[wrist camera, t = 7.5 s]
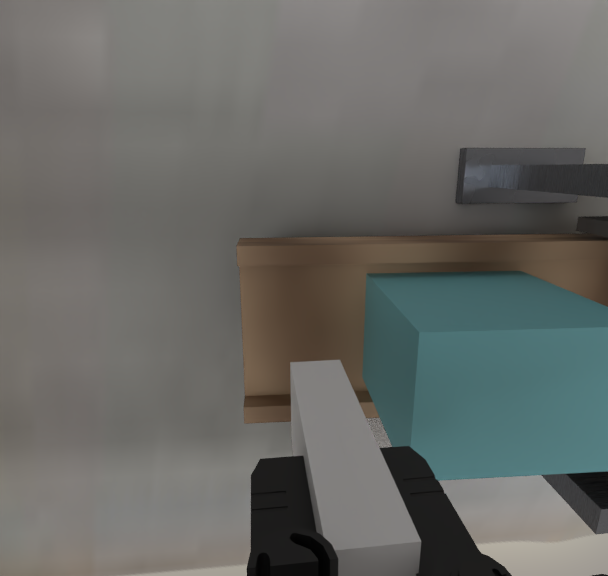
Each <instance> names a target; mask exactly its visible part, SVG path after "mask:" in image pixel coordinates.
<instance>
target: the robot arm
mask: <svg viewBox="0 0 608 576" xmlns="http://www.w3.org/2000/svg"><path fill="white" fill-rule="evenodd" d="M290 380H291V442H292V449H293V456H292V457H279V458H266V459H260V460H259V462H258V464H257V466H256V468H255V469H254V471H253V473H252V475H251V553H250V557H249V561H248V565H247V576H512V575H511V574H510V573H509V572H508V571H507V570H506V568H505V567H504V566H502V565H501V564H499V563H498V562H496V561H495V560H493V559H492V558H490V557H489V556H487V555H484V554H481V552H480V551H479V550H478V548H477V546H476V545H475V543H474V541H473V540H472V538H471V536H470V534H469V533H468V531H467V529H466V528H465V526H464V524H463V522H462V521H461V519H460V517H459V516H458V514H457V512H456V511H455V509H454V507H453V505H452V504H451V502H450V500H449V499H448V497H447V495H446V494H444V490H443V488H442V487H441V485H440V483H439V482H438V480H437V479H436V478H435V475H434V473H433V471H432V470H431V468H430V466H429V465H428V463H427V461H426V459H424V458H423V457H422V456H421V455H419V454H418V453H417V452H416V451H414V450H413V449H412V448H411V447H410V446H400V447H388V448H379V446H378V444H377V441H376V439H375V437H374V435H373V433H372V430H371V428H370V426H369V424H368V421H367V419H366V417H365V415H364V412H363V410H362V408H361V406H360V404H359V401H358V399H357V397H356V395H355V392H354V390H353V388H352V386H351V383H350V381H349V379H348V377H347V375H346V372H345V370H344V368H343V366H342V363H341V361H340V360H324V361H306V362H290ZM593 576H608V575H604V574H599V575H593Z"/></svg>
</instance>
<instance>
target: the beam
mask: <svg viewBox="0 0 608 576" xmlns="http://www.w3.org/2000/svg"><path fill="white" fill-rule="evenodd" d="M576 231H581V232H586V233H587V234H514V235H442V236H370V237H298V238H240V239H239V242H238V244H237V266H239V269H240V292H241V315H242V338H243V361H244V384H245V401H244V423H266V422H289V421H291V380H290V362H306V361H324V360H340V361H341V363H342V366H343V368H344V370H345V372H346V375H347V377H348V379H349V381H350V383H351V386H352V388H353V390H354V392H355V395H356V397H357V399H358V401H359V404H360V406H361V408H362V410H363V412H364V415H365V417H366V418H379V414H378V412H377V410H376V408H375V405H374V403H373V401H372V398H371V396H370V394H369V391H368V389H367V387H366V385H365V382H364V380H363V378H362V372H363V347H364V322H365V297H366V273H419V272H474V271H523V272H525V273H527V274H530V275H532V276H535V277H537V278H539V279H542V280H544V281H547V282H549V283H551V284H554V285H556V286H559V287H561V288H563V289H566V290H568V291H571V292H573V293H575V294H578V295H580V296H583V297H585V298H587V299H590V300H592V301H595V302H597V303H599V304H602V305H604V306H607V307H608V216H603V217H578V223H577V229H576Z"/></svg>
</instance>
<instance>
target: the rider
mask: <svg viewBox="0 0 608 576" xmlns="http://www.w3.org/2000/svg"><path fill="white" fill-rule="evenodd" d="M362 378H363V380H364V382H365V385H366V387H367V389H368V391H369V394H370V396H371V398H372V401H373V403H374V405H375V408H376V410H377V412H378V414H379V417H380V419H381V421H382V424H383V426H384V428H385V431H386V433H387V435H388V437H389V440H390V442H391V444H392V447H400V446H410V447H411V448H412V449H413V450H414V451H416V452H417V453H418V454H419V455H421V456H422V457H423V458H424V459H426V461H427V463H428V465H429V466H430V468H431V470H432V471H433V473H434V475H435V478H436V479H437V480H456V479H475V478H493V477H512V476H531V475H549V474H568V473H587V472H605V471H608V307H607V306H604V305H602V304H599V303H597V302H595V301H592V300H590V299H587V298H585V297H583V296H580V295H578V294H575V293H573V292H571V291H568V290H566V289H563V288H561V287H559V286H556V285H554V284H551V283H549V282H547V281H544V280H542V279H539V278H537V277H535V276H532V275H530V274H527V273H525V272H523V271H474V272H419V273H366V297H365V322H364V347H363V372H362Z"/></svg>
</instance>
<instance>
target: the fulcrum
mask: <svg viewBox="0 0 608 576" xmlns="http://www.w3.org/2000/svg"><path fill="white" fill-rule="evenodd" d="M585 149H586V148H462V149H460V159H459V170H458V181H457V192H456V203H462V204H465V203H555V202H577V197H578V195H584V196H596V197H607V198H608V164H583V161H584V155H585ZM542 476H543V477H544V478H545V480H546V481H547V482H548V483H549V484H550V485H551V486H552V487H553V488H554V489H555V490H556V491H557V493H558V494H559V495H560V496H561V497H562V498H563V499H564V500H565V501H566V502H567V503H568V504H569V506H570V507H571V508H572V509H573V510H574V511H575V512H576V513H577V514H578V515H579V516H580V518H581V519H582V520H583V521H584V522H585V523H586V524H587V525H588V526H589V527H590V528H591V529H592V531H593V532H594V533H595V534H603V533H608V471H605V472H587V473H568V474H549V475H542Z"/></svg>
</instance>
